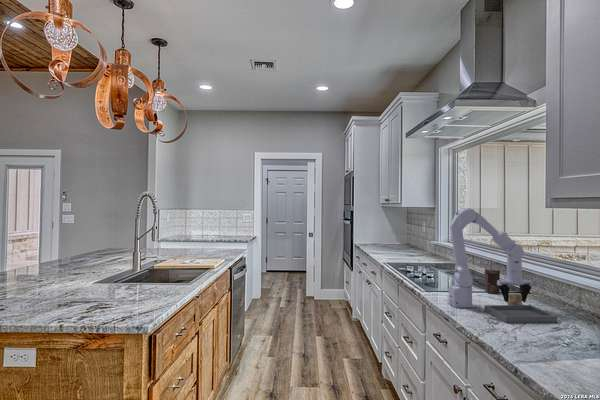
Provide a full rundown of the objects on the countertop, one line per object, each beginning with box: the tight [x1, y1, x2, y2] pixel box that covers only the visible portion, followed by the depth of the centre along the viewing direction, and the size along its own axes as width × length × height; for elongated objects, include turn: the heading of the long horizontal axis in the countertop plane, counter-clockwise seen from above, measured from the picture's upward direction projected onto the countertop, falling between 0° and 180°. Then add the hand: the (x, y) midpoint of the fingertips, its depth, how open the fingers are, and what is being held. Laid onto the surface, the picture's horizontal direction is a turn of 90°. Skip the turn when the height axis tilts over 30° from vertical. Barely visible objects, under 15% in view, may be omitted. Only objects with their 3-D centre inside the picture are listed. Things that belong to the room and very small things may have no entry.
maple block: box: [507, 292, 523, 305], centre depth 163 cm, size 4×4×6 cm
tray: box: [484, 304, 558, 324], centre depth 150 cm, size 20×16×2 cm
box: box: [484, 268, 501, 294], centre depth 191 cm, size 6×4×12 cm
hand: (514, 301), depth 163 cm, fingers open, 7 cm apart
